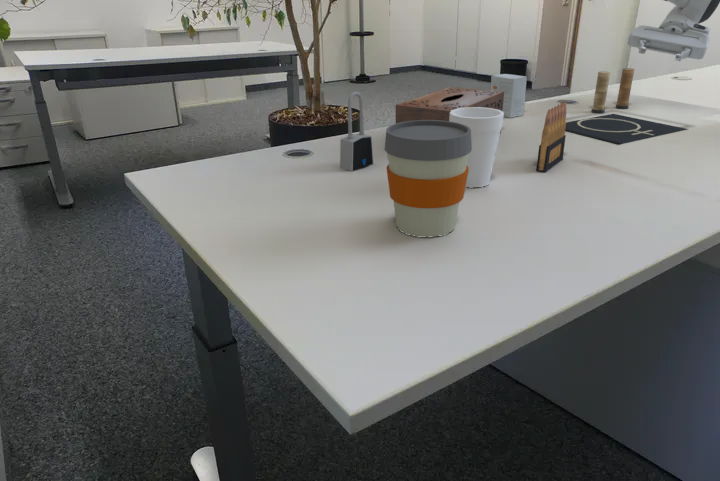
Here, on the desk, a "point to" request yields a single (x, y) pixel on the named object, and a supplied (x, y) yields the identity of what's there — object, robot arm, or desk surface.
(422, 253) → the desk surface
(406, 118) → the tissue box cover
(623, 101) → the beech stamp
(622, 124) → the desk pad
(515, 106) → the small box
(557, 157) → the ammunition clip
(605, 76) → the birch stamp
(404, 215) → the reusable coffee cup
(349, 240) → the desk surface
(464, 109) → the foam cup
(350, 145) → the padlock
